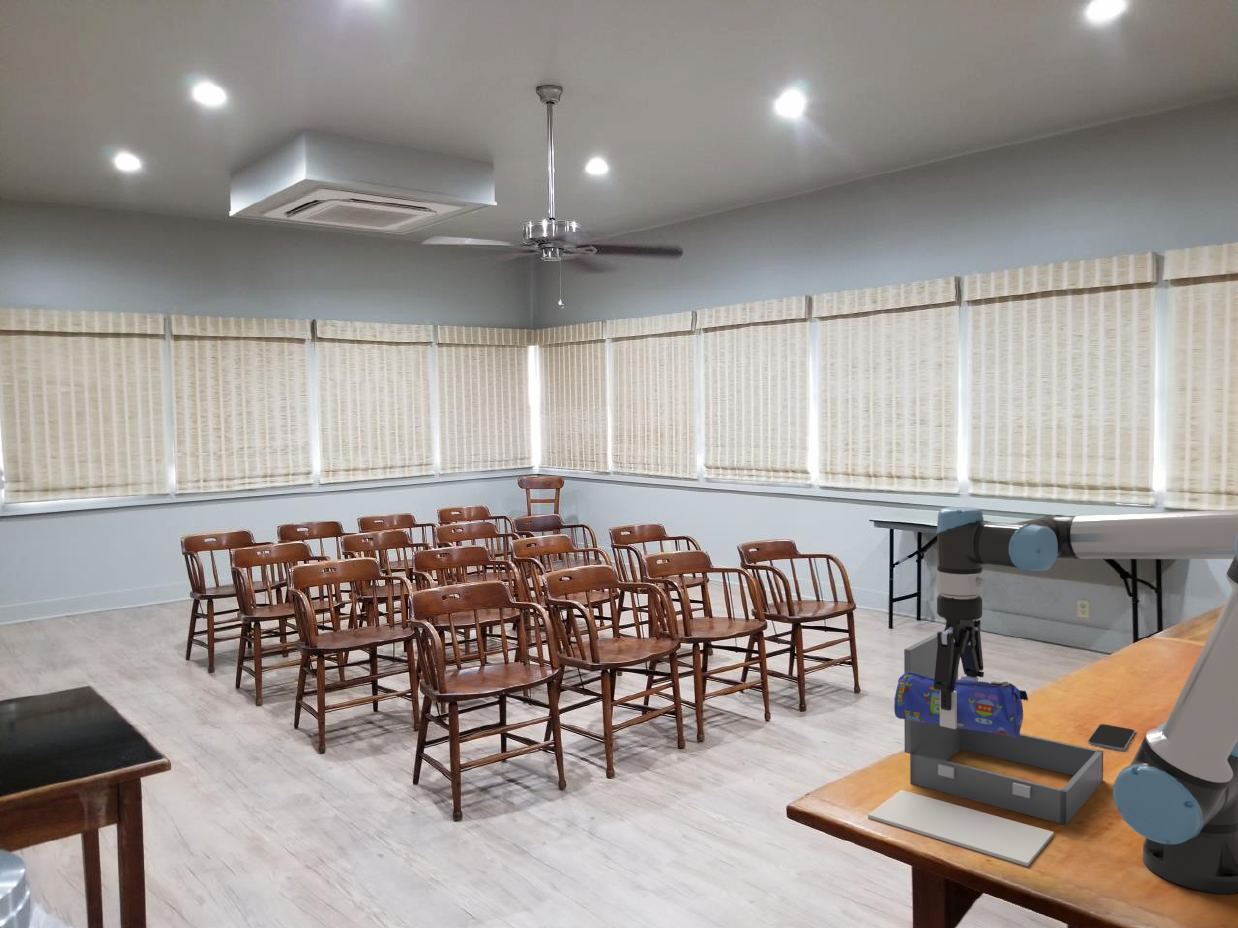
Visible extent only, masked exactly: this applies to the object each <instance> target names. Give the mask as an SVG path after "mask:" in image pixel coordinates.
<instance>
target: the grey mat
mask: <svg viewBox="0 0 1238 928" xmlns="http://www.w3.org/2000/svg"><path fill="white" fill-rule="evenodd" d="M867 818H868V819H871V820H874V821H878V822H881V823H885V824H888V825H890V826H894V827H897V828H900V829H903V830H907V831H910V832H914V833H916V834H919V835H922V836H927V837H929V838H933V839H937V840H938V841H939V840H940V841H943V842H946V843H948V844H949V843H950V844H952V845H955V846H959V847H962V848H965V849H969V850H972V851H975V852H979V853H982V854H986V855H988V856H991V857H996V858H998V859H1001V860H1005V861H1008V862H1011V863H1014V864H1018V865H1021V866H1024V867H1029V866H1030V865H1031V864H1032V863H1033V861H1034V859H1036V858H1037V857H1038V855H1039V854H1040V852H1042V850H1043V849H1044V848H1045V846H1047V844H1048V843H1049V842H1050V841H1051V839H1052V838H1053V837H1054V836H1055V832H1054V831H1051V830H1048V829H1044V828H1041V827H1037V826H1033V825H1030V824H1026V823H1022V822H1019V821H1016V820H1012V819H1008V818H1005V817H1000V816H997V815H994V814H990V813H986V812H983V811H979V810H976V809H971V808H969V807H966V806H962V805H958V804H957V805H956V804H954V803H951V802H946V801H944V800H939V799H936V798H933V797H929V796H925V795H921V794H918V793H914V792H909V791H907V790H903V789H900V790H899V791H897V792H896V793H895V794H893V795H892V796H891V797H889V798H888V799H887V800H885V801H884V802H882V803H881V804H880V805H879V806H878V807H876V808H875V809H873V810H872V811H871V812H870V813H868V814H867Z"/></svg>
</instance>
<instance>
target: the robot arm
mask: <svg viewBox="0 0 1238 928" xmlns="http://www.w3.org/2000/svg"><path fill="white" fill-rule="evenodd" d="M936 523H937V524H936V532H935V534H936V540H937V543H936V547H937V548H936V549H937V554H936V555H937V569H936V591H937V593H939V594H938V595H937V596H936V614H937V615H938V616H939V617H941V618H943V619H945V627H944V629H943V630H944V632H941V631H942V630H940V631H939V630H938V631H937V632H936V633H937V642H938V646H937V657H936V667H935V678H934V689H937V690H940V726H943V727H948V728H952V729H956V728H957V691H954V688H955V683H956V677H957V672H958V673H959V666H960V660H961V666H962V671H963V675H961V677H962V680H970V681H975V682H979V678H984V677H985V676H984V675H985V671H984V661H983V658H984V657H983V651H982V650H983V648H982V639H981V638H982V637H981V624H982V623H981V618H982V616H983V598H982V596H980V595H981V594H982V593H983V584H985V582H986V580H985V578H983V565H986V566H993V567H996V566H997V567H1002V568H1009V569H1015V570H1016V569H1018V570H1022V571H1025V572H1029V571H1030V572H1031V571H1038V572H1039V571H1040V572H1044V571H1045V572H1046V571H1048V570H1049V569H1050V568H1051V569H1052V566H1053V564H1054V563H1055V562H1056V561H1057V560H1081V559H1082V560H1086V559H1088V560H1091V559H1092V560H1093V559H1094V560H1095V559H1096V560H1099V559H1100V560H1109V559H1110V560H1114V559H1115V560H1121V559H1122V560H1131V559H1132V560H1138V559H1139V560H1232V561H1231V563H1230V565H1229V568H1228V569H1227V571H1226V574H1225V576H1226V579H1227V580H1228V583H1229V585H1230V587H1231V592H1230V594H1229V596H1228V598H1227V600H1226V602H1225V604H1224V605H1223V608H1222V610H1221V612H1220V614H1219V616H1218V618H1217V620H1216V622H1215V624H1214V626H1213V628H1212V630H1211V631H1210V633H1209V635H1208V637H1207V639H1206V641H1205V643H1204V645H1203V648H1202V649H1201V651H1200V653H1199V655H1198V658H1197V659H1196V662H1194V665H1193V667H1192V669H1191V671H1190V673H1189V675H1188V677H1187V679H1186V681H1185V684H1184V685H1183V687H1182V689H1181V691H1180V692H1179V695H1178V697H1177V699H1176V701H1175V702H1174V705H1173V707H1172V708H1171V711H1170V712H1169V714H1168V717H1167V719H1166V721H1165V722H1163V723H1161V724H1159V725H1158V726H1157V728H1156V727H1155V728H1151V729H1149V730H1148V731H1147V732H1146V734H1145V735H1144V737H1143V740H1142V742H1141V743H1140V745H1139V747H1138V749H1137V751H1136V753H1135V755H1134V757H1133V759H1132V761H1131V763H1130V764H1129V765H1128V766H1126V767H1124V768H1122V769H1121V770H1120V771H1119V773H1118V775H1117V776H1116V778H1115V780H1114V783H1113V787H1112V797H1113V800H1114V804H1115V806H1116V808H1117V810H1118V812H1119V814H1120V817H1121V818H1122V819H1123V820H1124V822H1125V823H1126V824H1127V825H1128V826H1129V827H1130V828H1131V829H1133V831H1135V832H1137V834H1139V835H1140V836H1142V837H1144V838H1145V839H1144V841H1143V845H1142V860H1143V861H1142V862H1143V863H1144V865H1145V866H1146V867H1147V868H1148V869H1149V870H1150V871H1151V872H1153V873H1154V874H1155V875H1158V876H1159V877H1160V878H1163V879H1164V880H1167V881H1168V882H1170V883H1173V884H1176V885H1177V886H1178V885H1179V886H1182V887H1184V888H1189V889H1192V890H1197V891H1201V892H1206V893H1212V894H1214V893H1215V894H1223V895H1225V894H1226V893H1230V894H1238V893H1237V892H1238V509H1217V510H1194V511H1193V510H1191V511H1189V510H1188V511H1187V510H1186V511H1163V512H1139V513H1136V512H1135V513H1111V514H1087V515H1085V514H1081V515H1064V514H1050V515H1045V516H1042V517H1039V518H1038V517H1037V518H1034V519H1029V520H1023V521H1019V522H999V521H990V520H989V521H988V520H984V515H983V511H982V510H981V509H980V508H977V507H972V506H971V507H969V506H950V507H949V506H948V507H944V508H941V509H940V510H939V511H938V514H937V522H936Z"/></svg>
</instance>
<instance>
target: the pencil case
mask: <svg viewBox="0 0 1238 928" xmlns="http://www.w3.org/2000/svg"><path fill="white" fill-rule="evenodd" d="M895 689H896V690H895V694H894V699H893V700H894V705H893V706H894V707H893V710H894V715H895V717H896V718H898V719H899V720H904V719H906V720H910V721H918V722H925V723H931V724H936V725H940V690H937V689H934V678H932V677H927V676H923V675H920V674H918V673H915V672H907V673H906V674H904V673H903V674H902V675H900V677H899V678H898V679H897V687H896V688H895ZM954 691H957V728H962V729H968V730H976V731H982V732H990V733H1001V734H1005V735H1009V736H1012V737H1015V738H1018V737H1019V736H1020V733H1021V728H1022V725H1023V720H1024V709H1023V702H1022V700H1023V701H1026V702H1027V701H1028V700H1029V697H1028V693H1027V691H1026V690H1023V689H1021V690H1020V689H1019V688H1018V687H1017V686H1016V685H1014V684H1013V683H1010V682H1008V681H1002V682H1001V681H995V680H994V681H991V682H987V681H980V680H978V682H975V681H970V680H961V678H960V679H959V678H958V679H956V683H955V688H954Z"/></svg>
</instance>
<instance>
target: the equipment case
mask: <svg viewBox="0 0 1238 928" xmlns="http://www.w3.org/2000/svg"><path fill="white" fill-rule="evenodd" d="M944 630H945V629H943V630H940V631H941V632H944ZM937 633H938V632H936V633H935V634H932V635H930V636H928V637H926V638H924V639H923V640H920V641H918V642H917V643H916V642H915V643H914V644H912V645H909V646H908V647H906V648H904V654H903V655H904V658H903V660H904V661H903V662H904V665H903V666H904V668H903V669H904V673H903V674H906V673H907V672H915V673H918V674H920V675H923V676H927V677H932V678H935V667H936V657H937V646H938V642H937ZM956 679H959V671H958V672H957V677H956ZM960 680H962V676H961V677H960ZM903 720H904V728H903V729H904V753H906V754H910V755H909V758H910V759H909V762H910V764H909V765H910V767H909V775H910V777H909V778H910V779H909V783H910V784H913V785H917V786H920V787H924V788H928V789H931V790H935V791H939V792H942V793H946V794H950V795H953V796H957V797H961V798H965V799H969V800H972V801H975V802H980V803H982V804H986V805H991V806H994V807H998V808H1002V809H1007V810H1010V811H1013V812H1017V813H1020V814H1024V815H1027V816H1032V817H1036V818H1040V819H1041V820H1046V821H1049V822H1053V823H1058V824H1061V825H1065V826H1066V825H1068V824H1069V822H1070V821H1071V820H1072V818H1074V816H1075V815H1076V814H1077V813H1078V812H1079V810H1080V809H1081V808H1082V806H1083V805H1085V803H1086V801H1087V800H1088V799H1089V798H1090V797H1091V795H1093V793H1094V792H1095V791H1096V790H1097V788H1098V787H1099V786H1100V785H1101V784H1102V782H1103V781H1104V750H1100V749H1095V748H1092V747H1086V746H1081V745H1076V744H1072V743H1067V742H1063V741H1058V740H1053V739H1050V738H1043V737H1038V736H1035V735H1030V734H1026V733H1021V732H1020V736H1019V737H1018V738H1015V737H1012V736H1009V735H1005V734H1001V733H990V732H982V731H976V730H968V729H962V728H956V729H952V728H948V727H943V726H940V725H936V724H931V723H925V722H918V721H910V720H906V719H903ZM961 750H963V751H967V752H971V753H972V752H973V753H976V754H980V755H985V756H988V757H993V758H998V759H1000V760H1001V759H1002V760H1005V761H1009V762H1016V763H1019V764H1023V765H1027V766H1032V767H1036V768H1039V767H1041V768H1040V769H1044V768H1045V770H1048V769H1049V770H1048V771H1052V772H1057V773H1060V774H1061V773H1062V774H1065V775H1070V776H1072V777H1071V779H1069V781H1068V782H1067V783H1066V784H1065V785H1064V786H1063V787H1062V788H1060V787H1056V786H1051V785H1048V784H1044V783H1040V782H1035V781H1031V780H1027V779H1023V778H1019V777H1016V776H1015V777H1014V776H1011V775H1007V774H1002V773H999V772H995V771H990V770H987V769H982V768H978V767H975V766H969V765H966V764H962V763H957V762H954V761H950V760H949V759H950V758H951V757H953V756H954V755H955V754H957V753H958V752H959V751H961Z"/></svg>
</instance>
